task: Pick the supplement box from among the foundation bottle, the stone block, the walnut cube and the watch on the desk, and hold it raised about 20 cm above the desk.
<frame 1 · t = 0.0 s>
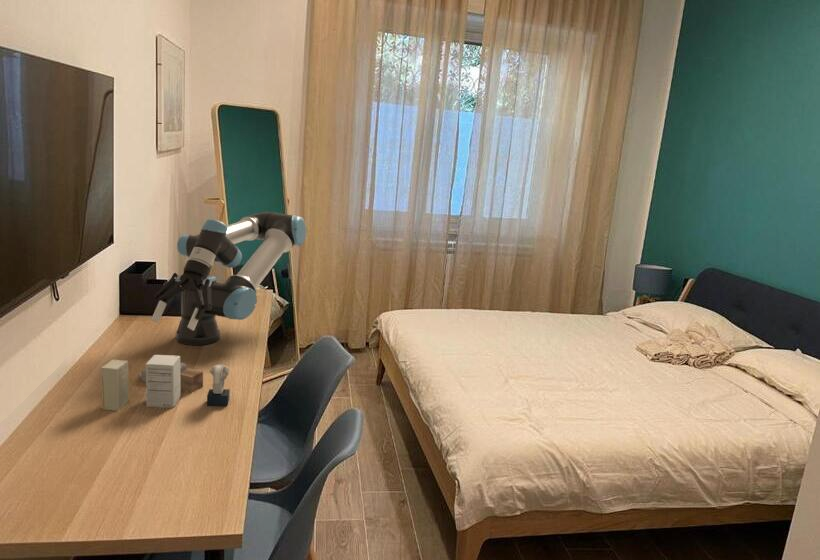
hand: (172, 325, 183), 15 cm above the table, tool tilted 35°, fingers open, 13 cm apart
walnut cube: (190, 388, 176), on the table
watch: (218, 403, 169), on the table
skincare box: (115, 406, 161), on the table
stone block: (162, 377, 183), on the table
supplement box: (163, 402, 166), on the table
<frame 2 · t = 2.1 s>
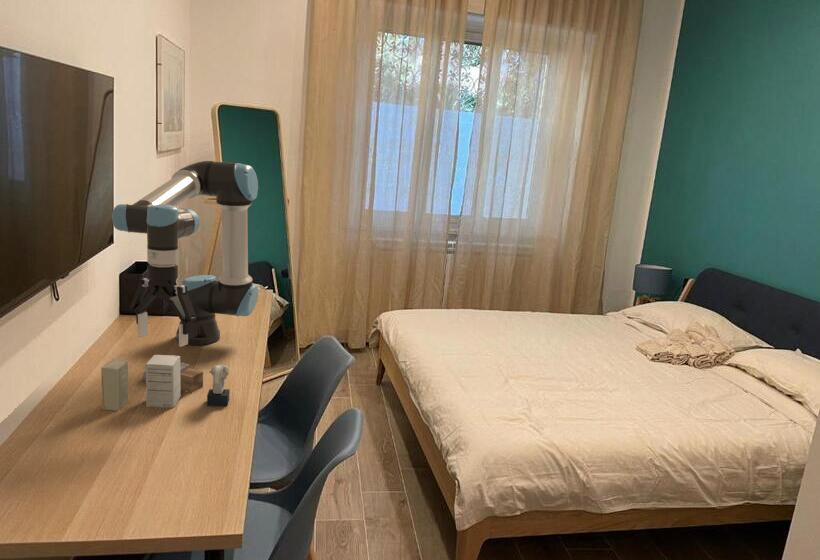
hand: (162, 340, 162), 18 cm above the table, tool pointing down, fingers open, 13 cm apart
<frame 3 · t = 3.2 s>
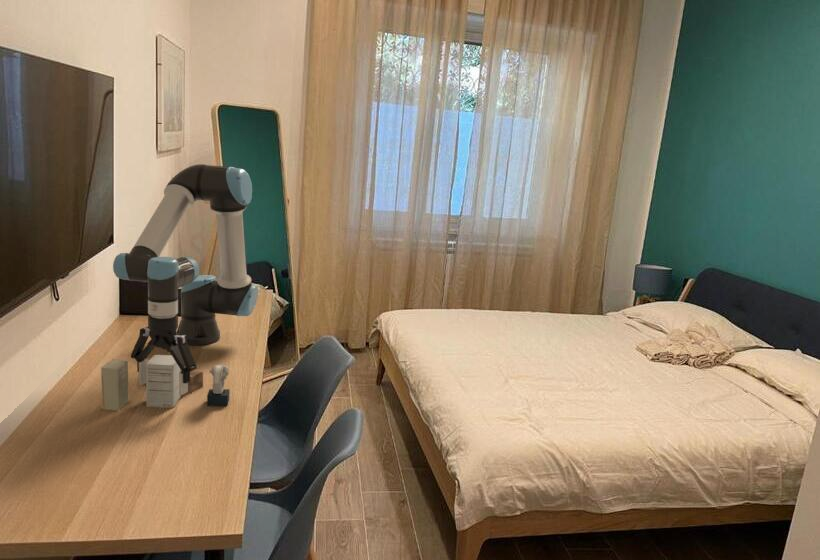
hand: (163, 388, 165), 4 cm above the table, tool pointing down, fingers open, 13 cm apart
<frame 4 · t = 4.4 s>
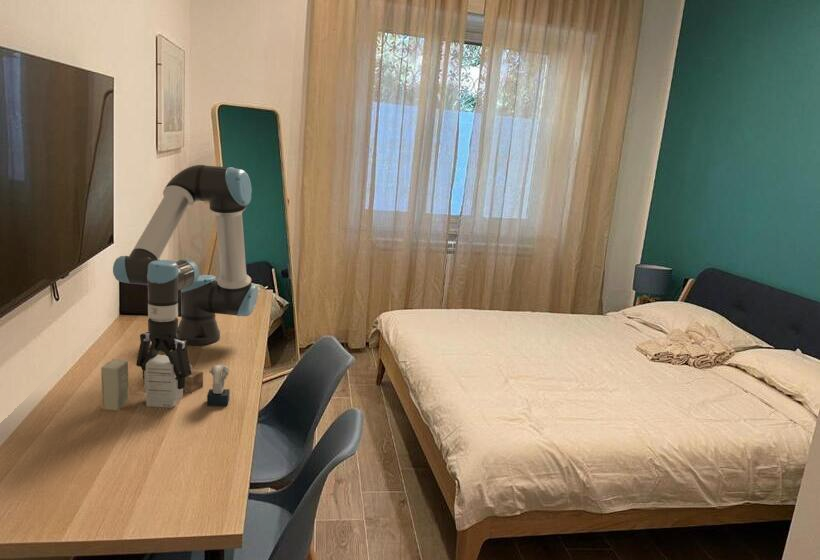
hand: (163, 395, 165), 2 cm above the table, tool pointing down, fingers closed on supplement box, 9 cm apart
supplement box: (163, 402, 166), on the table, touching gripper
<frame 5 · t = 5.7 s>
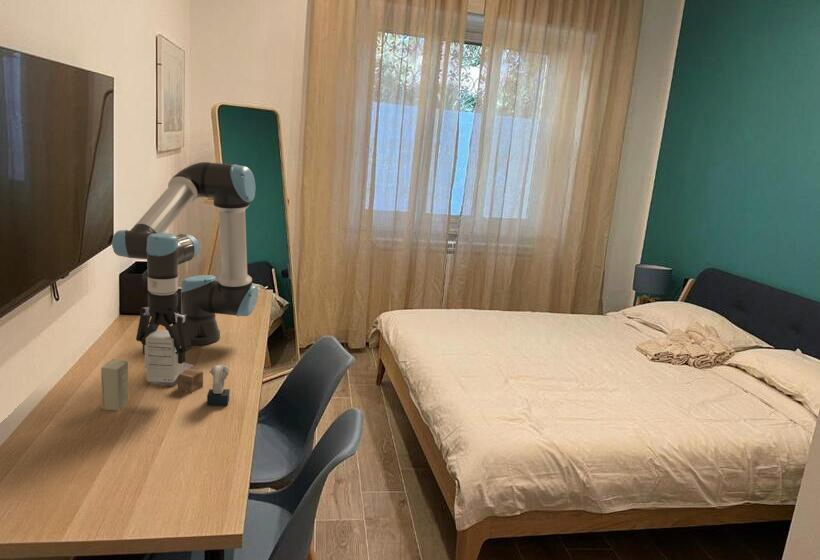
hand: (164, 369, 164), 9 cm above the table, tool pointing down, fingers closed on supplement box, 9 cm apart
supplement box: (164, 377, 165), point 7 cm above the table, touching gripper
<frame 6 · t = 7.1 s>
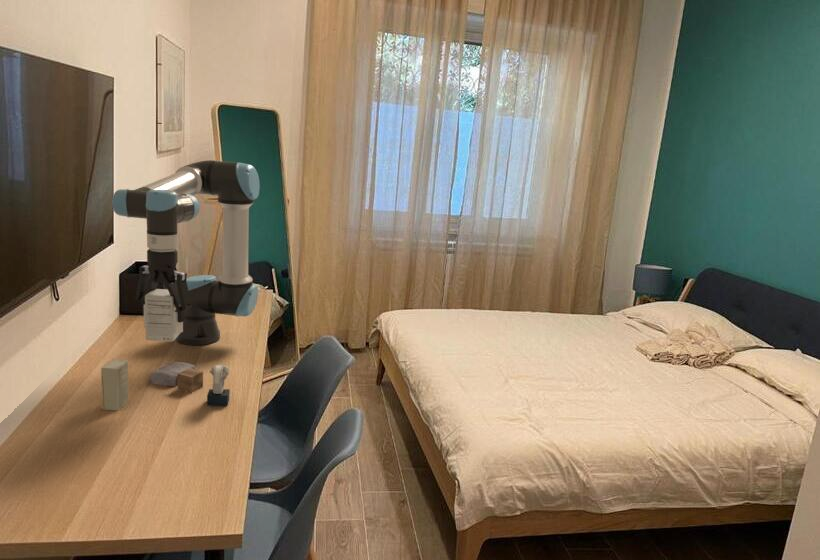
hand: (163, 329, 163), 21 cm above the table, tool pointing down, fingers closed on supplement box, 9 cm apart
supplement box: (163, 337, 163), point 18 cm above the table, touching gripper
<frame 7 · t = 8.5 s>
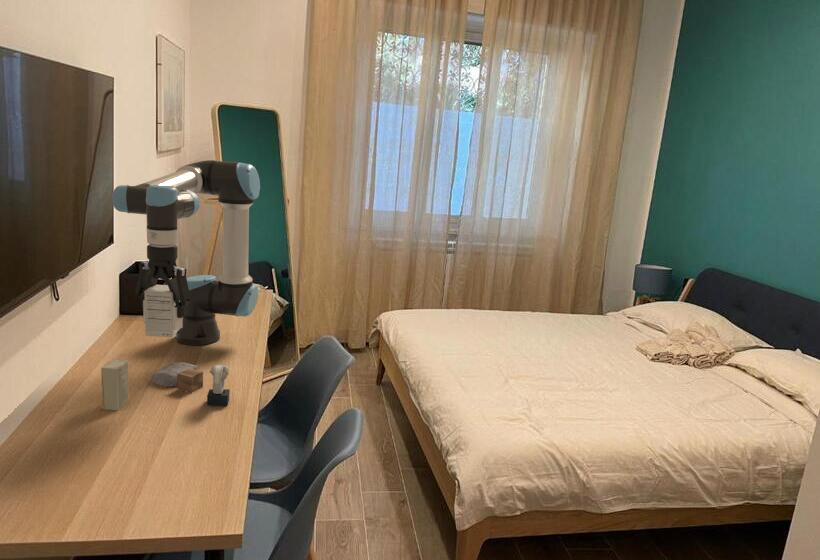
hand: (163, 325, 162), 22 cm above the table, tool pointing down, fingers closed on supplement box, 9 cm apart
supplement box: (163, 333, 163), point 20 cm above the table, touching gripper
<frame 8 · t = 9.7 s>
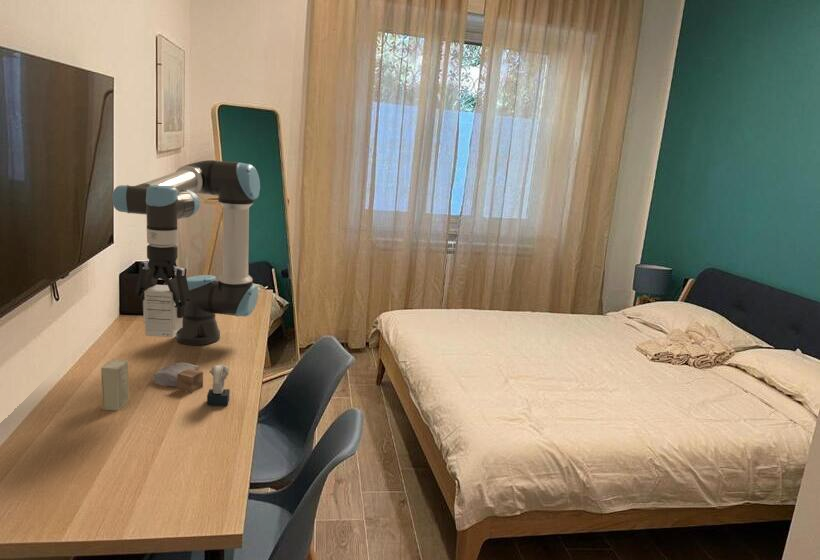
hand: (163, 325, 162), 22 cm above the table, tool pointing down, fingers closed on supplement box, 9 cm apart
supplement box: (163, 333, 163), point 20 cm above the table, touching gripper
at the end: the gripper is holding supplement box; supplement box point 19.6 cm above the table; skincare box moved 0.2 cm from its start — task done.
